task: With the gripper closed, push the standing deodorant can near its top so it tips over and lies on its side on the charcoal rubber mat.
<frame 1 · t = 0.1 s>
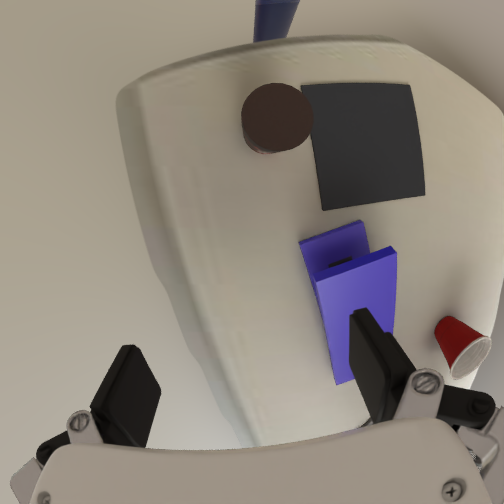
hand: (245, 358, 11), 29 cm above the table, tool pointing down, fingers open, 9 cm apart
plastic cup: (443, 327, 47), on the table
mat: (371, 141, 35), on the table
deodorant: (265, 132, 35), on the table
stapler: (348, 307, 44), on the table
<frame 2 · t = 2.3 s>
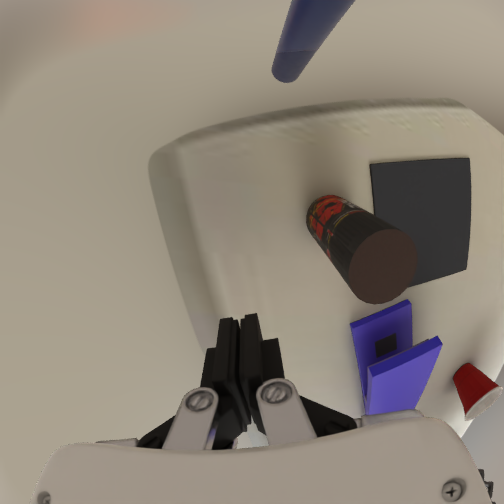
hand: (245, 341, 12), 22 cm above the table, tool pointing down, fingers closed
plastic cup: (461, 372, 45), on the table
mat: (428, 224, 33), on the table
deodorant: (329, 218, 33), on the table
stapler: (384, 369, 42), on the table
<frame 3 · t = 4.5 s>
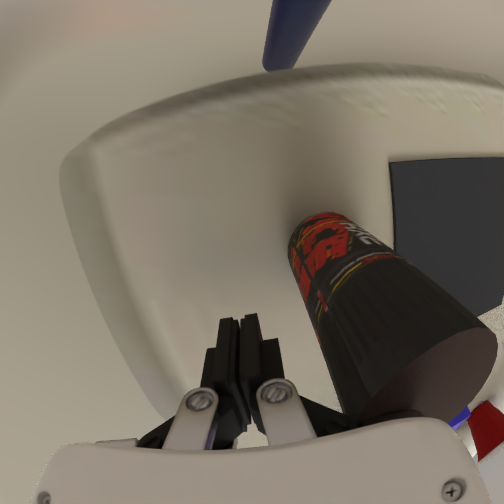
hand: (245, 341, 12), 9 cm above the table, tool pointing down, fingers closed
plastic cup: (476, 411, 33), on the table
mat: (465, 250, 21), on the table
deodorant: (325, 249, 21), on the table, touching gripper
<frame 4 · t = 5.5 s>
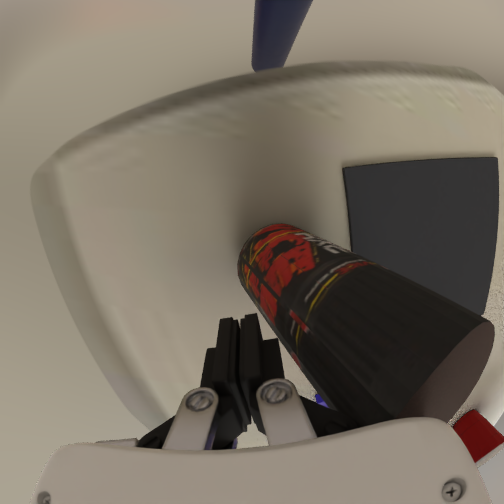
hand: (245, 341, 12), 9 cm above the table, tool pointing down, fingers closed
plastic cup: (463, 419, 33), on the table
mat: (438, 258, 21), on the table
deodorant: (276, 263, 20), point 1 cm above the table, touching gripper
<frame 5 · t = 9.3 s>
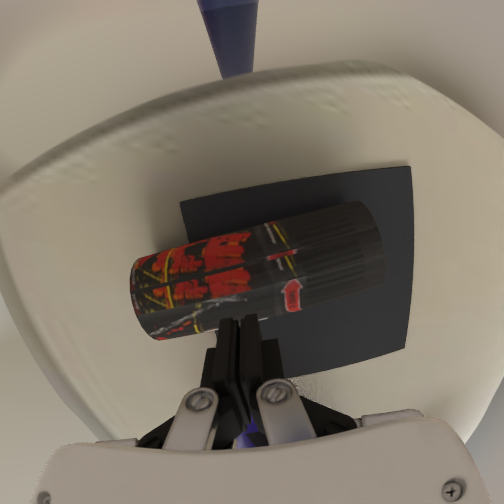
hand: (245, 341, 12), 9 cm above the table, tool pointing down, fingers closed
mat: (317, 290, 22), on the table
deodorant: (149, 299, 18), point 3 cm above the table, touching mat
stapler: (281, 453, 31), on the table
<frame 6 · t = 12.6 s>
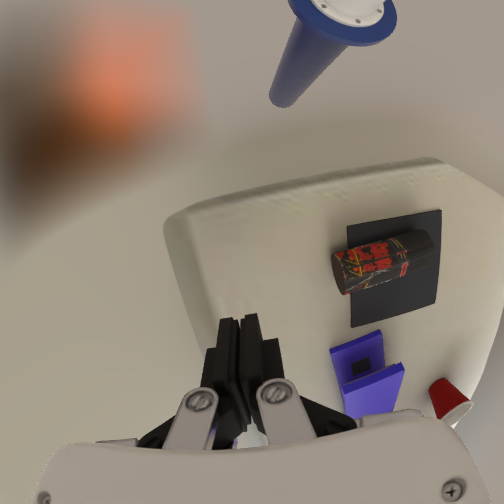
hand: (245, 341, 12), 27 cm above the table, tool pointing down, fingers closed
plastic cup: (436, 386, 53), on the table
mat: (398, 269, 41), on the table
deodorant: (336, 275, 37), point 3 cm above the table, touching mat
stapler: (361, 384, 50), on the table
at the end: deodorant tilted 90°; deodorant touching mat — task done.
